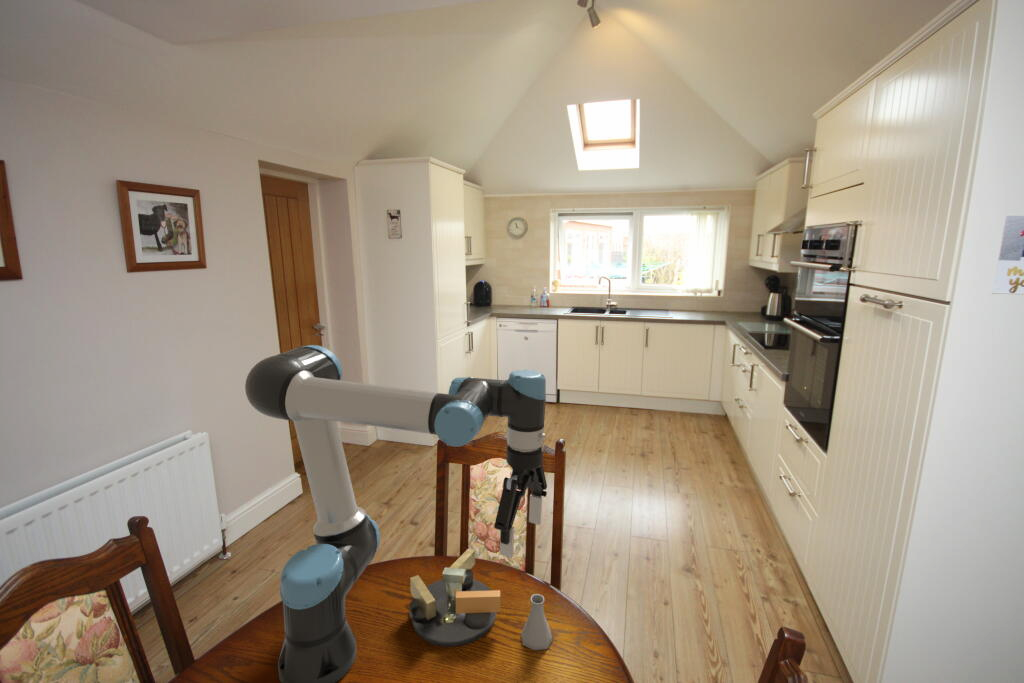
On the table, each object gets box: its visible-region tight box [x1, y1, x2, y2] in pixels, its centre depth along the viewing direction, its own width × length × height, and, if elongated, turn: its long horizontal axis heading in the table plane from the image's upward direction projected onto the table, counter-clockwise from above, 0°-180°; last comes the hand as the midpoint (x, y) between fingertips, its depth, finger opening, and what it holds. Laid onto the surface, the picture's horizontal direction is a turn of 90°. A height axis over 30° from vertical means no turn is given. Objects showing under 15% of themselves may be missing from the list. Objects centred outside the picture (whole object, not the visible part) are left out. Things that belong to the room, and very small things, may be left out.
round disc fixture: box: [409, 547, 497, 648], centre depth 113 cm, size 20×22×11 cm
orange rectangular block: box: [456, 589, 501, 629], centre depth 108 cm, size 10×6×6 cm, turn 93°
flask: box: [520, 593, 554, 651], centre depth 105 cm, size 7×7×10 cm
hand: (521, 538), depth 102 cm, fingers open, 13 cm apart
